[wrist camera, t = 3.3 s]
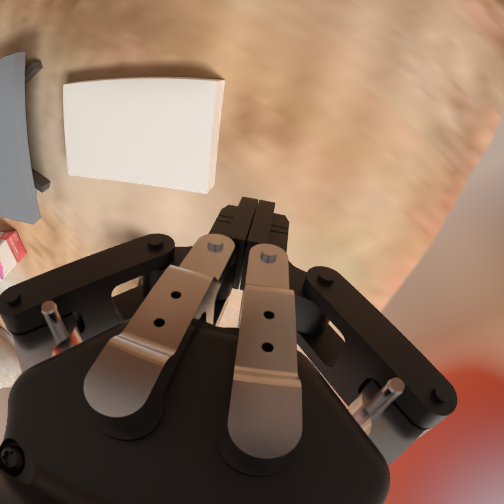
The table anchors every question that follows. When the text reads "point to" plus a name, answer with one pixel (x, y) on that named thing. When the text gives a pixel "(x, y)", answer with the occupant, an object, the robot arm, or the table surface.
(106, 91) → the white eraser-like slab
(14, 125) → the grey miniature bench
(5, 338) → the ceramic pitcher
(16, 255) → the ink cartridge box
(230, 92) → the table surface
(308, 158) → the table surface
